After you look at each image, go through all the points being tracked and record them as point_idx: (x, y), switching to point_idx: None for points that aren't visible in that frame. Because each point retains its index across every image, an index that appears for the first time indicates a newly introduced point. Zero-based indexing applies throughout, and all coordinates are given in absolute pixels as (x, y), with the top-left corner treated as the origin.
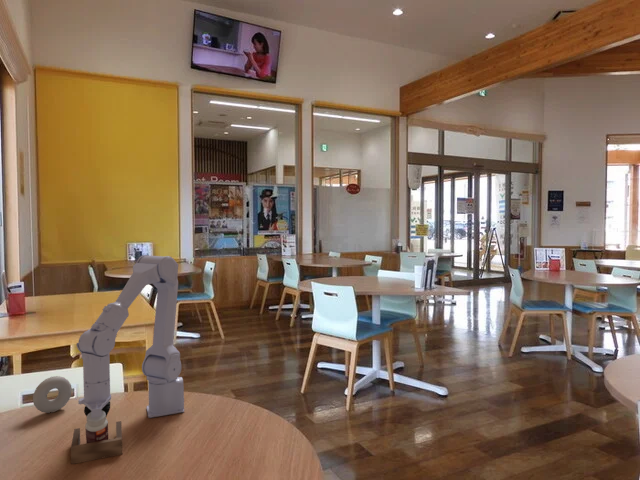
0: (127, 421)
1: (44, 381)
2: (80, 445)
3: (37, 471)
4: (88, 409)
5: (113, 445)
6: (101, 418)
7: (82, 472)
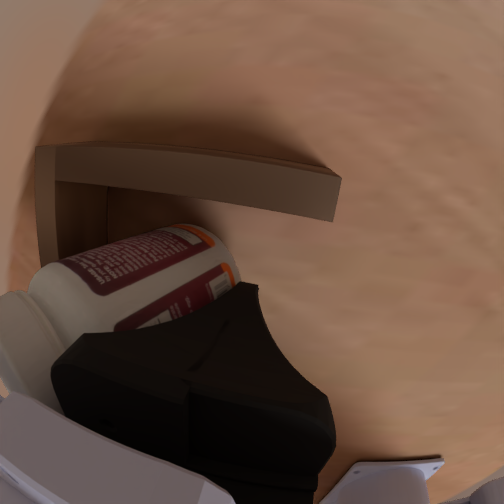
0: (398, 413)
1: None
2: (46, 197)
3: (109, 16)
4: (95, 407)
5: None
6: (4, 382)
7: (30, 186)
